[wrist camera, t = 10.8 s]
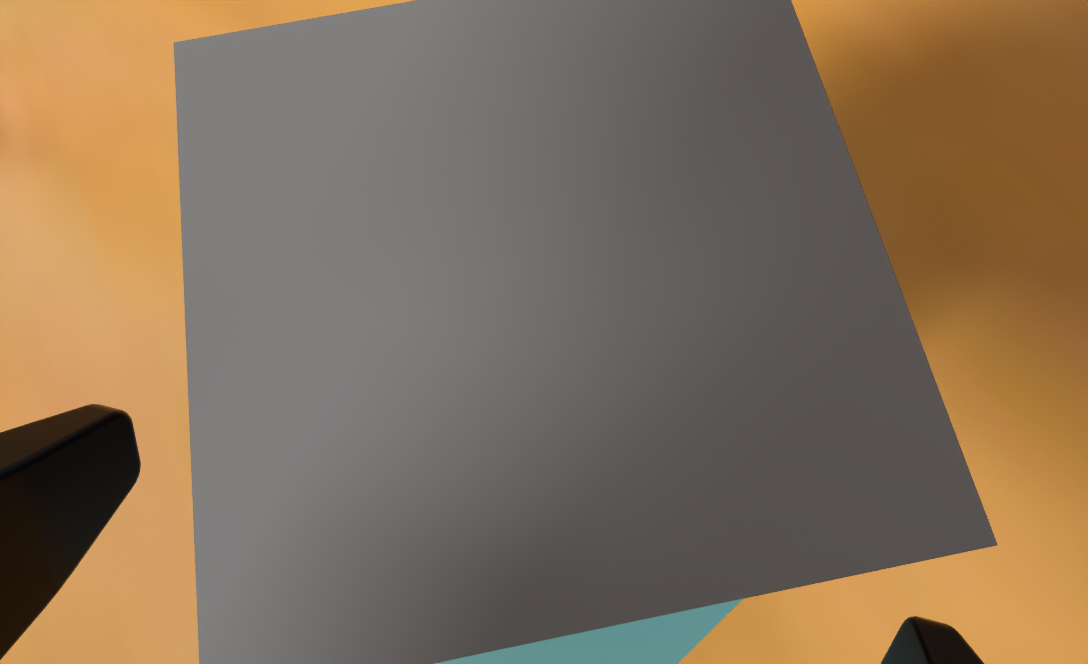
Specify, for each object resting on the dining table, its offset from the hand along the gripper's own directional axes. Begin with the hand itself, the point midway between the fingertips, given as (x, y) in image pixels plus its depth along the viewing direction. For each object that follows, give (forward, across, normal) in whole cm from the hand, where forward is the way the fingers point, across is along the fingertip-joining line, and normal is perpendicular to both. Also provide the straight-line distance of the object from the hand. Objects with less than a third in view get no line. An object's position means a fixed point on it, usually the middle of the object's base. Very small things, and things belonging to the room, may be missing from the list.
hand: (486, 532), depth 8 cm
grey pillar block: (+7, 0, +5) cm, 9 cm away
